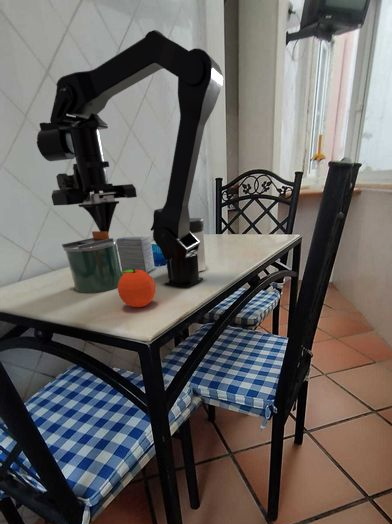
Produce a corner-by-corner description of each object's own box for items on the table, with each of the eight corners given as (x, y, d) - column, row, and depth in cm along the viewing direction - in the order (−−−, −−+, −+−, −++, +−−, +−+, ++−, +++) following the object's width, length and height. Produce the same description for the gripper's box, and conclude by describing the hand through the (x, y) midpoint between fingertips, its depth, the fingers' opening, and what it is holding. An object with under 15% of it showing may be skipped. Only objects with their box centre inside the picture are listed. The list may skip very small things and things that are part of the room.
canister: (134, 281, 75) (126, 237, 70) (95, 296, 67) (83, 247, 62) (103, 276, 82) (94, 235, 77) (64, 289, 74) (51, 244, 69)
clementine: (109, 312, 58) (101, 274, 55) (126, 299, 64) (120, 264, 60) (149, 313, 56) (143, 274, 52) (163, 300, 62) (158, 264, 58)
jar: (183, 275, 76) (179, 223, 71) (167, 270, 83) (162, 221, 77) (213, 268, 81) (211, 218, 75) (195, 263, 87) (192, 217, 81)
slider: (110, 240, 71) (108, 231, 70) (91, 245, 68) (89, 235, 67) (97, 239, 74) (95, 230, 73) (78, 244, 70) (76, 234, 69)
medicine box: (155, 269, 84) (150, 235, 80) (146, 273, 81) (141, 238, 77) (131, 268, 87) (125, 235, 83) (121, 272, 84) (115, 238, 80)
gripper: (101, 160, 76) (113, 228, 83) (26, 161, 63) (49, 241, 71) (132, 155, 70) (143, 229, 77) (57, 155, 57) (78, 244, 64)
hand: (105, 235), depth 72 cm, fingers closed
